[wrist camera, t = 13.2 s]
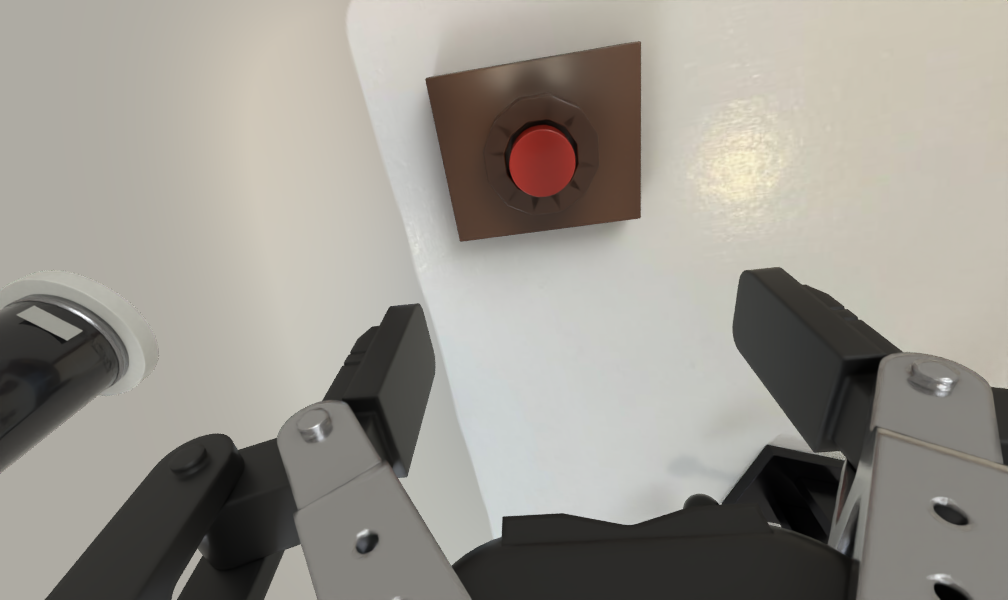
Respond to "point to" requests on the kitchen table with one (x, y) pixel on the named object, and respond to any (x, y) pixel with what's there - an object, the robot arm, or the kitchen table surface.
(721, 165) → the kitchen table surface
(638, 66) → the button block
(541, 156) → the red button
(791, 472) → the bracket
